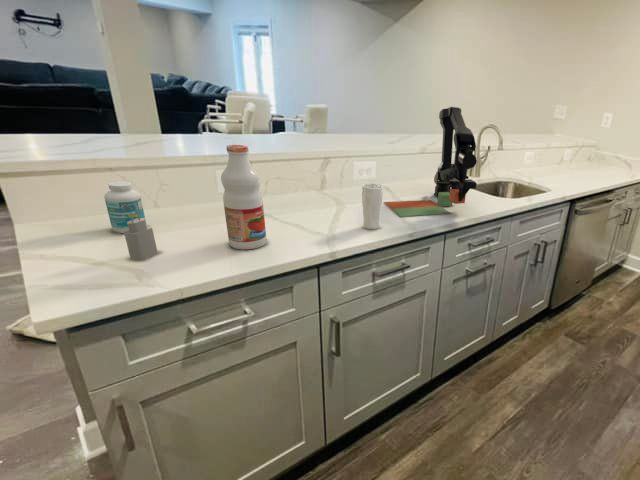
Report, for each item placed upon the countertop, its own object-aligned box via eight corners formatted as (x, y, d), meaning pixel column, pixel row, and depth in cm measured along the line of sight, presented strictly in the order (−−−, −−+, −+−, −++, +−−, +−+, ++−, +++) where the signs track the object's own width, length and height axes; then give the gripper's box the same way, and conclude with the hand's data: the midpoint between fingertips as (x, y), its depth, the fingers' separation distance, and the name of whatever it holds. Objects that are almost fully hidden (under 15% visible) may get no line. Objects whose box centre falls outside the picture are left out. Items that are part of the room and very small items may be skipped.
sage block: (447, 202, 175) (448, 191, 173) (452, 205, 172) (453, 195, 170) (437, 202, 173) (438, 192, 171) (442, 206, 169) (443, 195, 167)
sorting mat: (431, 200, 174) (431, 199, 174) (449, 213, 161) (449, 212, 161) (384, 202, 163) (384, 202, 162) (400, 217, 149) (400, 216, 149)
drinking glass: (376, 232, 132) (377, 190, 126) (357, 228, 133) (358, 186, 127) (384, 226, 138) (385, 185, 132) (367, 222, 139) (367, 182, 133)
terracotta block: (459, 199, 166) (460, 188, 164) (464, 203, 162) (466, 191, 160) (448, 200, 163) (450, 188, 161) (454, 203, 160) (455, 192, 158)
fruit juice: (235, 236, 114) (223, 141, 104) (270, 238, 117) (262, 145, 106) (223, 249, 106) (209, 147, 95) (261, 250, 108) (251, 151, 98)
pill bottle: (109, 234, 105) (96, 187, 100) (117, 225, 111) (105, 179, 106) (144, 233, 109) (133, 187, 103) (150, 224, 114) (140, 180, 109)
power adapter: (128, 259, 95) (117, 213, 90) (147, 250, 100) (137, 207, 95) (141, 261, 95) (130, 215, 90) (159, 252, 100) (149, 209, 95)
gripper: (433, 157, 159) (430, 193, 165) (455, 168, 145) (450, 207, 151) (456, 157, 165) (452, 192, 171) (479, 168, 151) (474, 205, 157)
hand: (457, 199), depth 162 cm, fingers closed on terracotta block, 5 cm apart
